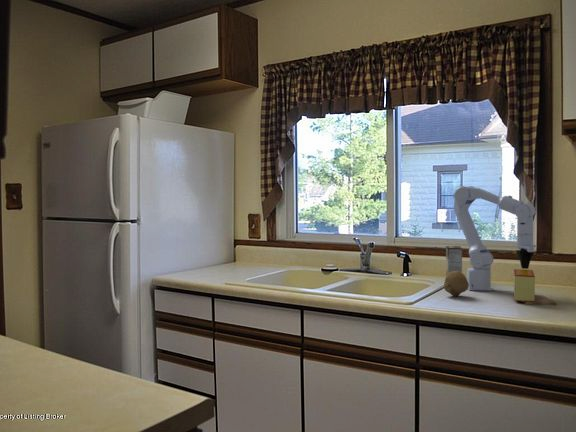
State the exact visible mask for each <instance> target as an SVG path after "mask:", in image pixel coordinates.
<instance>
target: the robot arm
mask: <svg viewBox="0 0 576 432" xmlns="http://www.w3.org/2000/svg"><path fill="white" fill-rule="evenodd" d="M452 196H453V199H454V203H453V211H454V213H455V216H456V218H457V221H458V223H459V225H460V228H461V230H462V233H463V235H464V237H465V240H466V242H467V245H468V247H469V249H468V256H469V262H470V263H469V264H470V265H471V266H472V267H469V268H467V269H466V275H465V277H466V279H467V281H468V283H469V287H468V289H467V290H469V291H484V292H485V291H494V288H492V287H491V286H492V281H491V279H492V266H491V265H492V264H493V263H494V256H493V254H492V253H491V252H490V251H489V249H488V248H487V246H485V245H484V244H483V242H482V239H481V238H480V235H479V232H478V230H477V228H476V226H475V223H474V221H473V218H472V216H471V214H470V212H469V209H470V207H471V205H472V203H474V202H475V201H476V199H481V200H484V201H487V202H489V203H493V204H495V205H497V206H498V208H499V209H500V210H502V211H504V212H506V213H510V214H513V215H515V216H516V219H517V220H516V221H517V222H516V225H517V226H516V229H517V231H516V232H517V233H516V249H518V250H515V253H516V254H517V256H518V259H519V262H520V267H521V269H522V270H529V268H530V263H531V259H532V257H533V255H535V248H537V245H536V244H534V216H535V215H536V207H535V206H534V205H533V204H531V203H529V202H525V203H524V200H522V199H521V200H518V199H515V198H513V196H512V195H504V196H502V197H501V196H499V195H497V194H495V193H492V192H490V191H487V190H486V189H483V188H480V187H475V186H472V185H471V186H465V185H461V186H458V187H457V188H456V189H455V191H454V193H453V195H452Z"/></svg>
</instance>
